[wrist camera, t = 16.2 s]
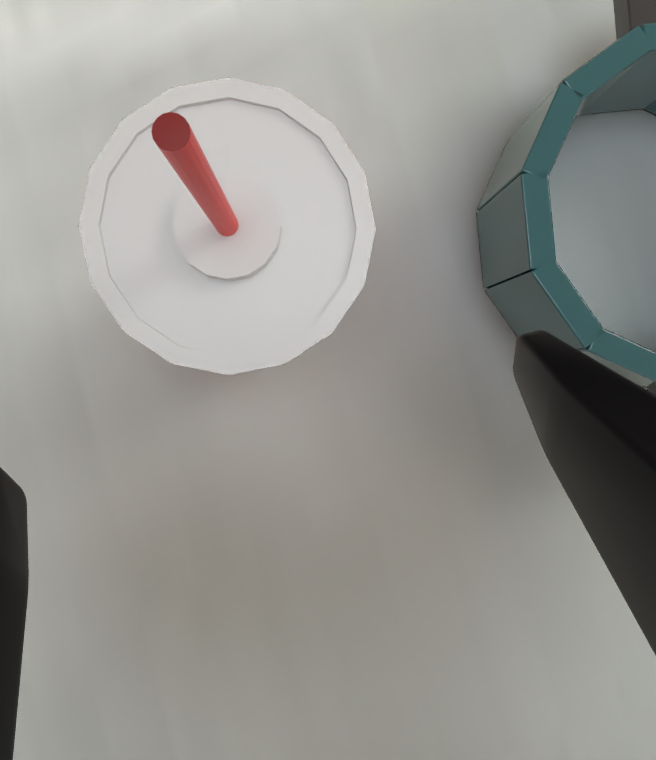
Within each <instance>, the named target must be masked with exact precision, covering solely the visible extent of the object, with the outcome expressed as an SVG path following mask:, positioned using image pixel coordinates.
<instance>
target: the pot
mask: <svg viewBox="0 0 656 760" xmlns="http://www.w3.org/2000/svg"><path fill="white" fill-rule="evenodd" d="M613 3H614V14H615V26H616V37H617V41H615V42H614V43H613V44H611V45H610V46H608V47H607V48H606V49H604V50H603V51H602V52H600V53H599V54H598V55H596V56H595V57H593V58H592V59H591V60H589V61H588V62H587V63H585V64H584V65H582V66H581V67H580V68H578V69H577V70H576V71H574V72H573V73H572V74H570V75H569V76H567V77H566V78H565V79H563V80H562V82H561V83H560V84H559V85H558V86H557V87H556V88H555V89H554V90H553V91H552V93H551V94H550V95H549V96H548V97H547V98H546V99H545V100H544V101H543V103H542V104H541V105H540V106H539V107H538V108H537V109H536V110H535V111H534V112H533V114H532V115H531V116H530V117H529V118H528V119H527V120H526V121H525V122H524V123H523V125H522V126H521V127H520V128H519V129H518V130H517V131H516V132H515V133H514V134H513V136H512V137H511V138H510V139H509V140H508V141H507V143H506V145H505V147H504V150H503V152H502V154H501V156H500V159H499V161H498V163H497V166H496V168H495V170H494V172H493V175H492V177H491V179H490V181H489V184H488V186H487V188H486V190H485V193H484V195H483V197H482V199H481V202H480V204H479V206H478V208H477V211H478V212H477V214H476V215H477V225H478V236H479V246H480V256H481V266H482V277H483V287H484V288H487V289H486V290H485V292H486V293H487V295H488V296H489V297H490V299H491V300H492V302H493V303H494V305H495V306H496V307H497V309H498V310H499V312H500V313H501V314H502V316H503V317H504V319H505V320H506V321H507V323H508V324H509V326H510V327H511V328H512V330H513V331H514V333H515V334H516V336H517V337H518V336H519V335H520V334H523V333H527V332H531V331H535V330H545V331H547V332H549V333H550V334H552V335H554V336H555V337H557V338H559V339H561V340H562V341H564V342H566V343H567V344H569V345H571V346H573V347H574V348H576V349H578V350H579V351H581V352H583V353H584V354H586V355H588V356H590V357H591V358H593V359H595V360H596V361H598V362H600V363H602V364H603V365H605V366H607V367H608V368H610V369H612V370H613V371H615V372H617V373H619V374H620V375H622V376H624V377H625V378H627V379H629V380H631V381H632V382H634V383H636V384H637V385H639V386H644V387H647V390H648V391H649V392H651V393H653V394H654V395H656V352H654V351H652V350H650V349H647V348H645V347H643V346H641V345H639V344H636V343H634V342H632V341H630V340H628V339H625V338H623V337H621V336H619V335H617V334H614V333H612V332H610V331H608V330H606V329H603V327H602V326H601V325H600V323H599V322H598V320H597V319H596V317H595V316H594V315H593V313H592V312H591V310H590V309H589V307H588V306H587V305H586V303H585V302H584V300H583V299H582V297H581V296H580V295H579V293H578V292H577V290H576V289H575V287H574V286H573V285H572V283H571V282H570V280H569V279H568V277H567V276H566V275H565V273H564V272H563V270H562V269H561V267H560V266H559V265H558V263H557V262H556V256H555V245H554V235H553V224H552V213H551V202H550V192H549V181H548V176H549V174H550V172H551V169H552V167H553V165H554V163H555V160H556V158H557V156H558V154H559V151H560V149H561V147H562V145H563V142H564V140H565V138H566V136H567V133H568V131H569V129H570V127H571V125H572V122H573V120H574V118H575V117H577V116H578V115H580V114H591V113H601V112H611V111H622V110H632V109H644V110H646V111H649V112H651V113H653V114H655V115H656V0H613Z"/></svg>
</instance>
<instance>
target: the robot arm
mask: <svg viewBox="0 0 656 760" xmlns="http://www.w3.org/2000/svg"><path fill="white" fill-rule="evenodd" d="M513 372H514V377H515V380H516V383H517V385H518V388H519V390H520V393H521V395H522V398H523V400H524V403H525V405H526V408H527V410H528V413H529V415H530V418H531V420H532V423H533V425H534V428H535V430H536V433H537V435H538V438H539V440H540V443H541V445H542V447H543V450H544V452H545V454H546V456H547V458H548V460H549V462H550V464H551V466H552V468H553V470H554V471H555V473H556V475H557V477H558V479H559V480H560V482H561V484H562V486H563V488H564V490H565V491H566V493H567V495H568V497H569V499H570V500H571V502H572V504H573V506H574V508H575V510H576V511H577V513H578V515H579V517H580V519H581V520H582V522H583V524H584V526H585V528H586V530H587V531H588V533H589V535H590V537H591V539H592V541H593V542H594V544H595V546H596V548H597V550H598V551H599V553H600V555H601V557H602V559H603V561H604V562H605V564H606V566H607V568H608V570H609V571H610V573H611V575H612V577H613V579H614V581H615V582H616V584H617V586H618V588H619V590H620V591H621V593H622V595H623V597H624V599H625V601H626V602H627V604H628V606H629V608H630V610H631V611H632V613H633V615H634V617H635V619H636V621H637V622H638V624H639V626H640V628H641V630H642V631H643V633H644V635H645V637H646V639H647V641H648V642H649V644H650V646H651V648H652V650H653V651H654V653H655V655H656V395H654V394H653V393H651V392H649V391H648V390H646V389H644V388H642V387H641V386H639V385H637V384H636V383H634V382H632V381H631V380H629V379H627V378H625V377H624V376H622V375H620V374H619V373H617V372H615V371H613V370H612V369H610V368H608V367H607V366H605V365H603V364H602V363H600V362H598V361H596V360H595V359H593V358H591V357H590V356H588V355H586V354H584V353H583V352H581V351H579V350H578V349H576V348H574V347H573V346H571V345H569V344H567V343H566V342H564V341H562V340H561V339H559V338H557V337H555V336H554V335H552V334H550V333H549V332H547V331H545V330H535V331H531V332H527V333H523V334H520V335H519V336H518V338H517V341H516V349H515V356H514V364H513ZM28 576H29V569H28V533H27V502H26V497H25V494H24V492H23V490H22V489H21V487H20V486H19V485H18V484H17V483H16V482H15V481H14V480H13V479H12V478H11V477H10V476H9V475H8V474H7V473H6V472H5V471H4V470H3V469H2V468H0V760H13V750H14V739H15V728H16V718H17V707H18V696H19V685H20V674H21V663H22V653H23V642H24V631H25V620H26V609H27V598H28Z"/></svg>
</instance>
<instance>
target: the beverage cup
mask: <svg viewBox="0 0 656 760" xmlns="http://www.w3.org/2000/svg"><path fill="white" fill-rule="evenodd" d="M79 229H80V234H81V239H82V243H83V248H84V253H85V258H86V263H87V268H88V273H89V277H90V282H91V284H92V285H93V287H94V288H95V290H96V291H97V293H98V294H99V296H100V297H101V299H102V300H103V302H104V303H105V305H106V306H107V308H108V309H109V311H110V312H111V314H112V315H113V317H114V318H115V320H116V321H117V323H118V324H119V326H120V327H121V328H122V330H123V331H124V332H125V333H127V334H128V335H130V336H131V337H133V338H134V339H136V340H137V341H139V342H140V343H142V344H143V345H145V346H146V347H148V348H149V349H151V350H152V351H154V352H155V353H157V354H158V355H160V356H161V357H163V358H164V359H166V360H167V361H169V362H170V363H172V364H176V365H181V366H186V367H191V368H196V369H201V370H206V371H211V372H215V373H220V374H225V375H232V374H237V373H242V372H247V371H253V370H258V369H263V368H268V367H273V366H279V365H284V364H286V363H288V362H289V361H291V360H292V359H294V358H295V357H297V356H298V355H300V354H301V353H303V352H304V351H306V350H308V349H309V348H311V347H312V346H314V345H315V344H317V343H318V342H320V341H321V340H323V339H324V338H326V337H327V336H329V335H330V334H332V332H333V331H334V330H335V328H336V327H337V325H338V324H339V322H340V321H341V319H342V318H343V316H344V315H345V313H346V312H347V310H348V309H349V307H350V306H351V304H352V303H353V302H354V300H355V299H356V297H357V296H358V294H359V293H360V291H361V290H362V288H363V287H364V284H365V279H366V274H367V270H368V265H369V260H370V255H371V250H372V246H373V241H374V236H375V231H376V228H375V223H374V217H373V212H372V207H371V201H370V196H369V190H368V185H367V180H366V174H365V172H364V170H363V169H362V167H361V165H360V164H359V162H358V161H357V159H356V158H355V156H354V154H353V153H352V151H351V150H350V148H349V147H348V145H347V144H346V142H345V140H344V139H343V137H342V136H341V134H340V133H339V131H338V130H337V128H336V126H335V125H334V124H333V123H332V122H331V121H329V120H328V119H326V118H325V117H324V116H322V115H321V114H319V113H318V112H316V111H315V110H314V109H312V108H311V107H309V106H308V105H306V104H305V103H304V102H302V101H301V100H299V99H298V98H296V97H295V96H294V95H292V94H291V93H289V92H288V91H287V90H283V89H279V88H275V87H270V86H266V85H261V84H257V83H252V82H248V81H243V80H239V79H235V78H230V77H227V78H222V79H216V80H210V81H205V82H199V83H193V84H188V85H182V86H177V87H171V88H170V89H168V90H167V91H165V92H164V93H162V94H160V95H159V96H157V97H156V98H154V99H153V100H151V101H150V102H148V103H147V104H145V105H144V106H142V107H140V108H139V109H137V110H136V111H134V112H133V113H131V114H130V115H128V116H127V117H125V118H124V119H122V121H121V122H120V124H119V125H118V127H117V128H116V130H115V131H114V133H113V134H112V136H111V137H110V138H109V140H108V141H107V143H106V144H105V146H104V147H103V149H102V150H101V152H100V153H99V155H98V156H97V158H96V159H95V161H94V162H93V164H92V165H91V167H90V170H89V175H88V180H87V185H86V190H85V195H84V201H83V206H82V211H81V216H80V221H79Z"/></svg>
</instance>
